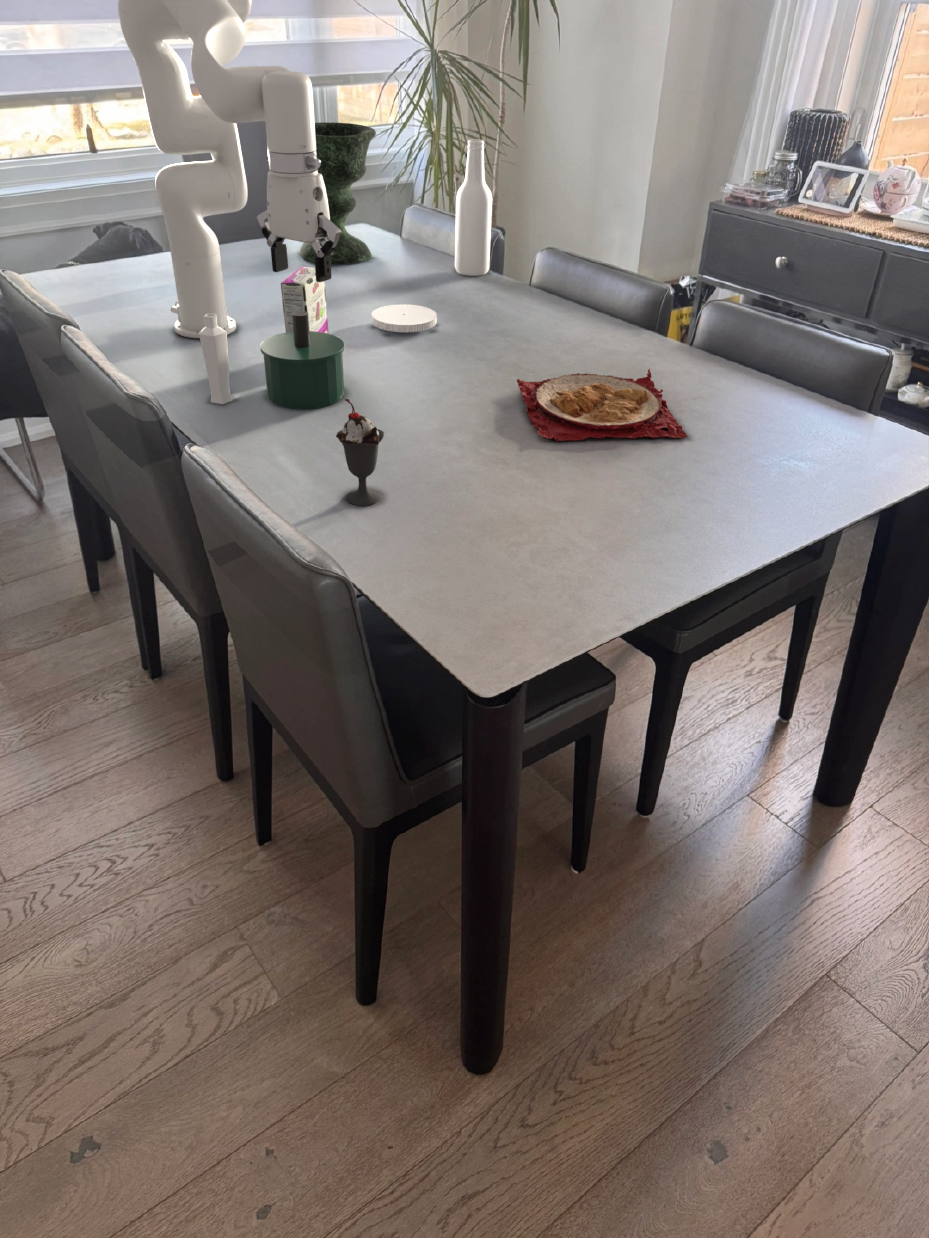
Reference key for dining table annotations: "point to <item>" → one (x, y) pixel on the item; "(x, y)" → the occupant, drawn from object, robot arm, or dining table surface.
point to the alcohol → (473, 216)
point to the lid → (302, 343)
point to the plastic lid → (404, 318)
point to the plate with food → (598, 407)
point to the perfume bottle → (216, 359)
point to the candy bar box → (305, 299)
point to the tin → (305, 383)
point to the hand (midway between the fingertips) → (302, 275)
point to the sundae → (360, 454)
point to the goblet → (341, 183)
